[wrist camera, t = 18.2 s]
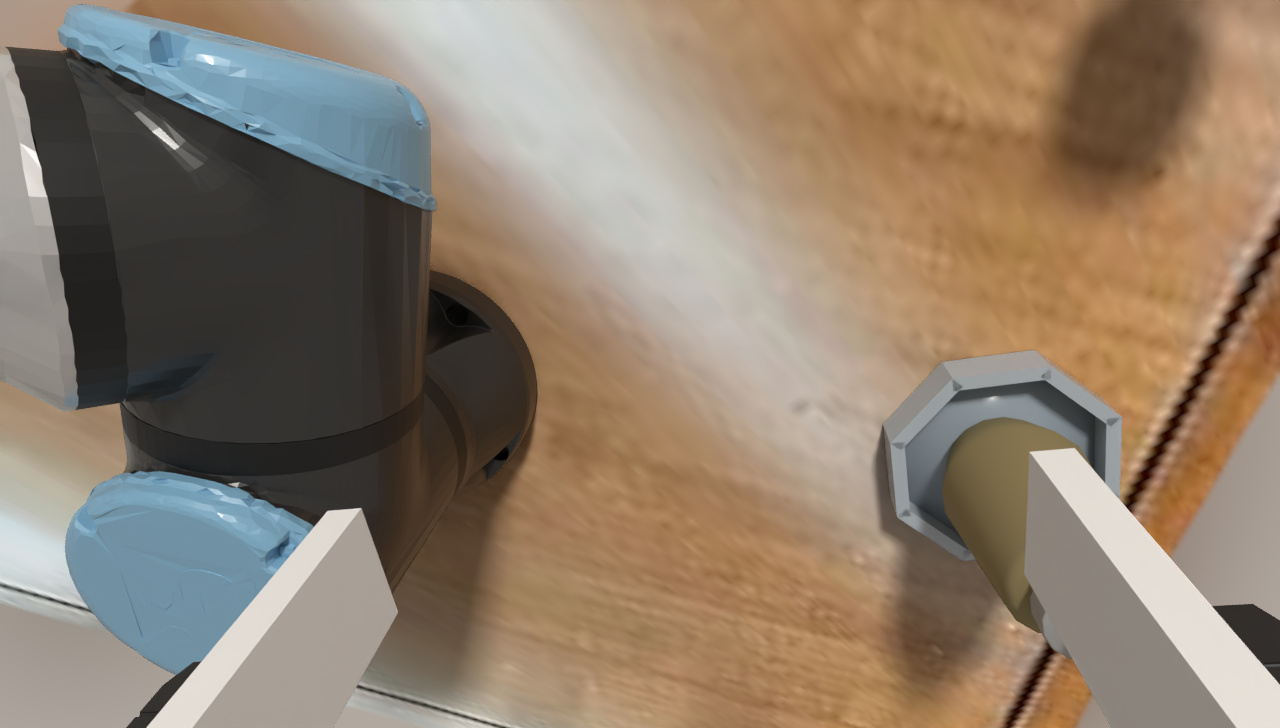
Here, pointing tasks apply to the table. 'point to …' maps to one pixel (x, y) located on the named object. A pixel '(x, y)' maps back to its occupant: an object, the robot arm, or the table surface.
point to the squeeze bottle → (1000, 508)
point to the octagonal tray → (980, 394)
